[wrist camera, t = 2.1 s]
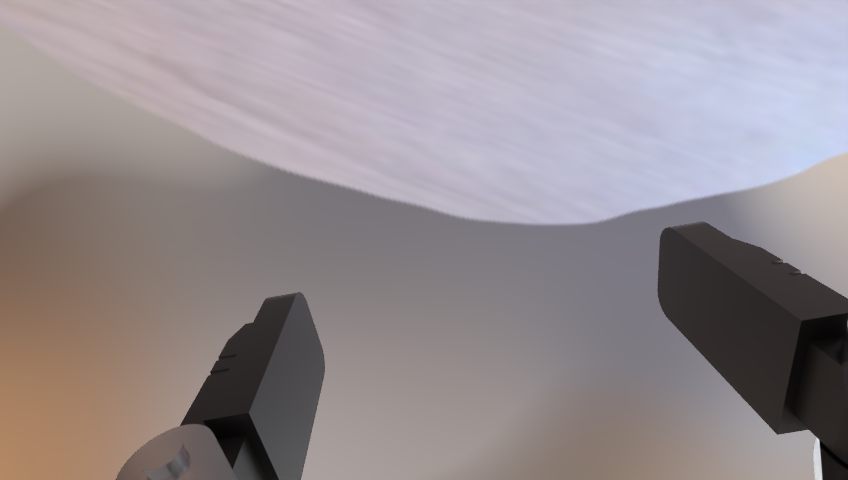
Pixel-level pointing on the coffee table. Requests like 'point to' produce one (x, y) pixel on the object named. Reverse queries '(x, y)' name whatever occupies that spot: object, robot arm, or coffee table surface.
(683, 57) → the coffee table surface
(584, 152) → the coffee table surface
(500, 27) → the coffee table surface
